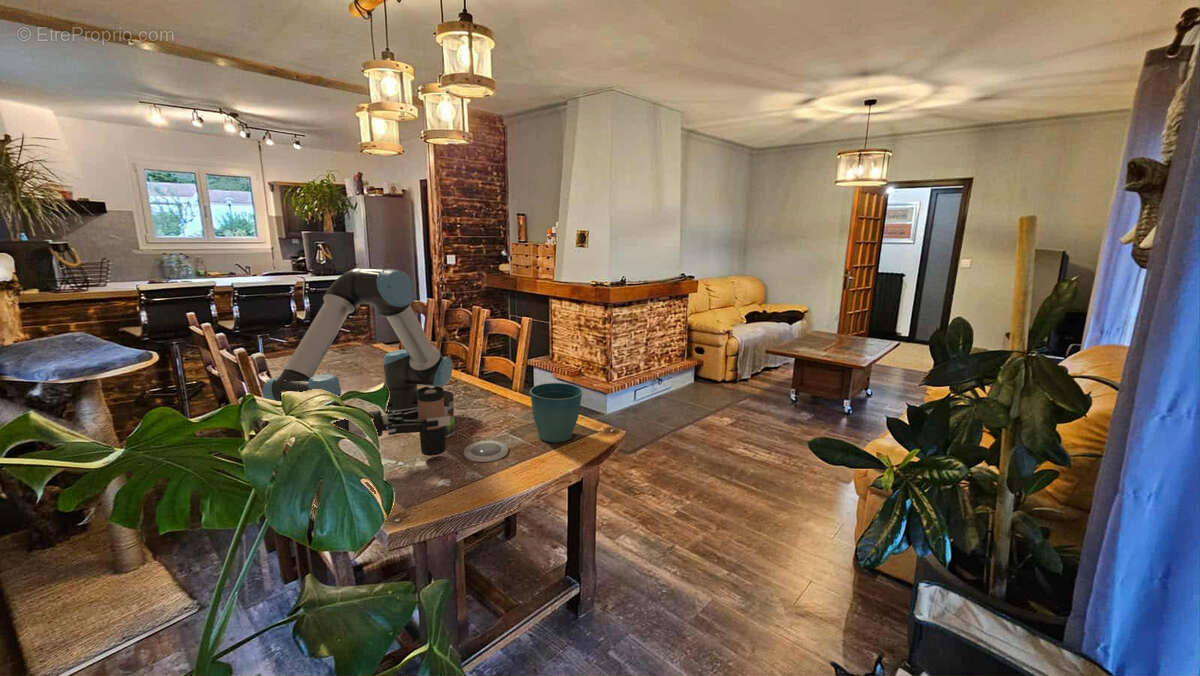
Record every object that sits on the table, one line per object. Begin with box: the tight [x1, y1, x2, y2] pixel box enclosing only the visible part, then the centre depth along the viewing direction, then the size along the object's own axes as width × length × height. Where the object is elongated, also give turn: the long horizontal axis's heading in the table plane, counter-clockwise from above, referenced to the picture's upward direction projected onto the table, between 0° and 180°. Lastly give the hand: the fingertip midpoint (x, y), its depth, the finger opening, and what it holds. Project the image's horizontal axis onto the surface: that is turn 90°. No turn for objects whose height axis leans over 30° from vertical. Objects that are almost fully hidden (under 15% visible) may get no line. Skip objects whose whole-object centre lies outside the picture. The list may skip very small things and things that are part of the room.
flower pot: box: [529, 382, 583, 443], centre depth 166 cm, size 18×18×17 cm
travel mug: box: [417, 386, 447, 457], centre depth 146 cm, size 8×8×20 cm
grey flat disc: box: [463, 440, 509, 463], centre depth 153 cm, size 14×14×1 cm
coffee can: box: [443, 390, 456, 439], centre depth 165 cm, size 10×10×14 cm
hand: (448, 415), depth 147 cm, fingers closed on travel mug, 7 cm apart
